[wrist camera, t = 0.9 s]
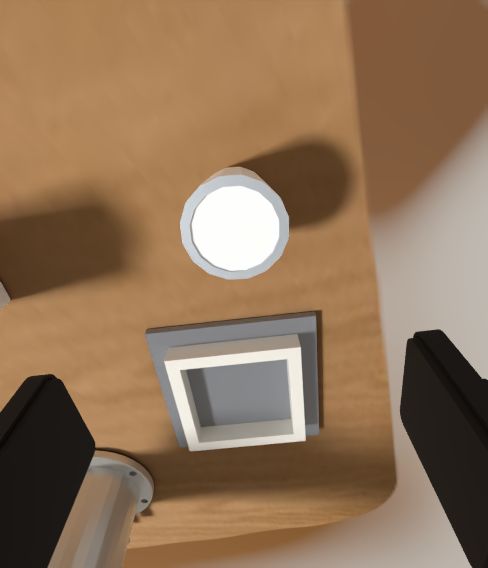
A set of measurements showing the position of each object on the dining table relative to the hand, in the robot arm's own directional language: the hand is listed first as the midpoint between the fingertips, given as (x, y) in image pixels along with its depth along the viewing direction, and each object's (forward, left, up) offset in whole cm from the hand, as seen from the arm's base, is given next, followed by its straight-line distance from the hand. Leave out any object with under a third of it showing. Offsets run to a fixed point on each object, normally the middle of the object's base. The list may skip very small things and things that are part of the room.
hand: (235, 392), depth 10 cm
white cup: (0, 0, -21) cm, 21 cm away
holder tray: (-19, +2, -21) cm, 28 cm away
